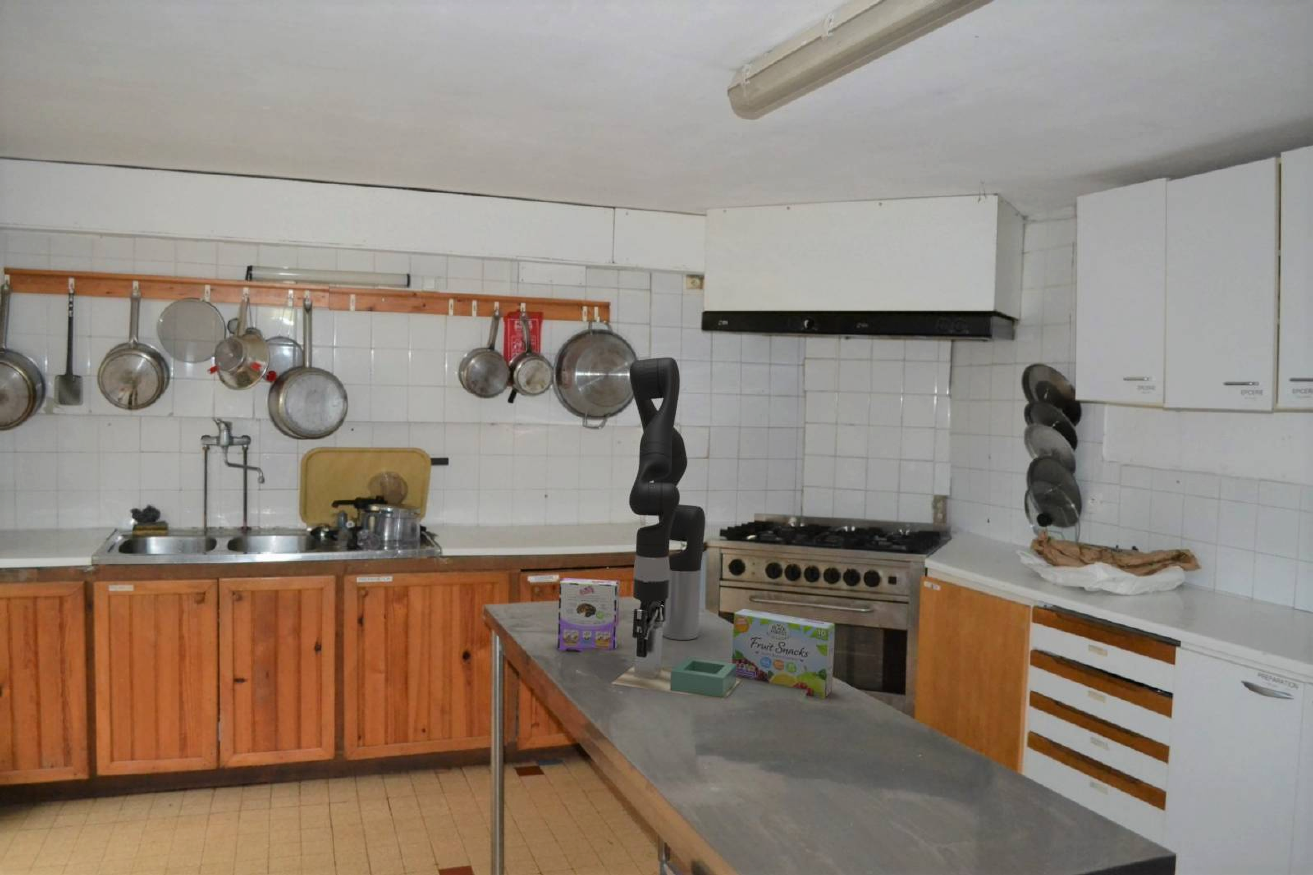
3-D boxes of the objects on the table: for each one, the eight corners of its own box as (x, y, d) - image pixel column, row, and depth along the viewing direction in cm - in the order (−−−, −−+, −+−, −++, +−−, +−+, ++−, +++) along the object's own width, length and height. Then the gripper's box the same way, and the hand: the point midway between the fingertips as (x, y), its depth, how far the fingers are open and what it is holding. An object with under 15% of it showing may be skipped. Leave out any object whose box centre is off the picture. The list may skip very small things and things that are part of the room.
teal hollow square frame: (686, 675, 206) (686, 657, 206) (736, 682, 202) (736, 663, 202) (670, 690, 196) (670, 671, 195) (722, 698, 192) (723, 678, 192)
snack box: (729, 681, 207) (732, 612, 207) (740, 675, 212) (742, 607, 212) (824, 699, 198) (828, 627, 197) (833, 692, 203) (836, 621, 202)
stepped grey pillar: (637, 670, 208) (639, 615, 208) (665, 674, 206) (667, 619, 206) (629, 676, 204) (632, 620, 203) (658, 680, 202) (660, 623, 201)
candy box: (618, 648, 230) (620, 579, 229) (614, 654, 224) (617, 584, 224) (561, 644, 232) (563, 576, 231) (556, 650, 226) (558, 581, 225)
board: (635, 669, 213) (636, 664, 213) (741, 684, 205) (741, 679, 205) (610, 689, 199) (611, 683, 199) (723, 705, 191) (723, 699, 191)
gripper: (646, 569, 212) (643, 641, 213) (623, 580, 198) (620, 658, 199) (678, 572, 210) (675, 645, 210) (657, 584, 196) (654, 662, 197)
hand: (648, 651), depth 205 cm, fingers open, 8 cm apart
